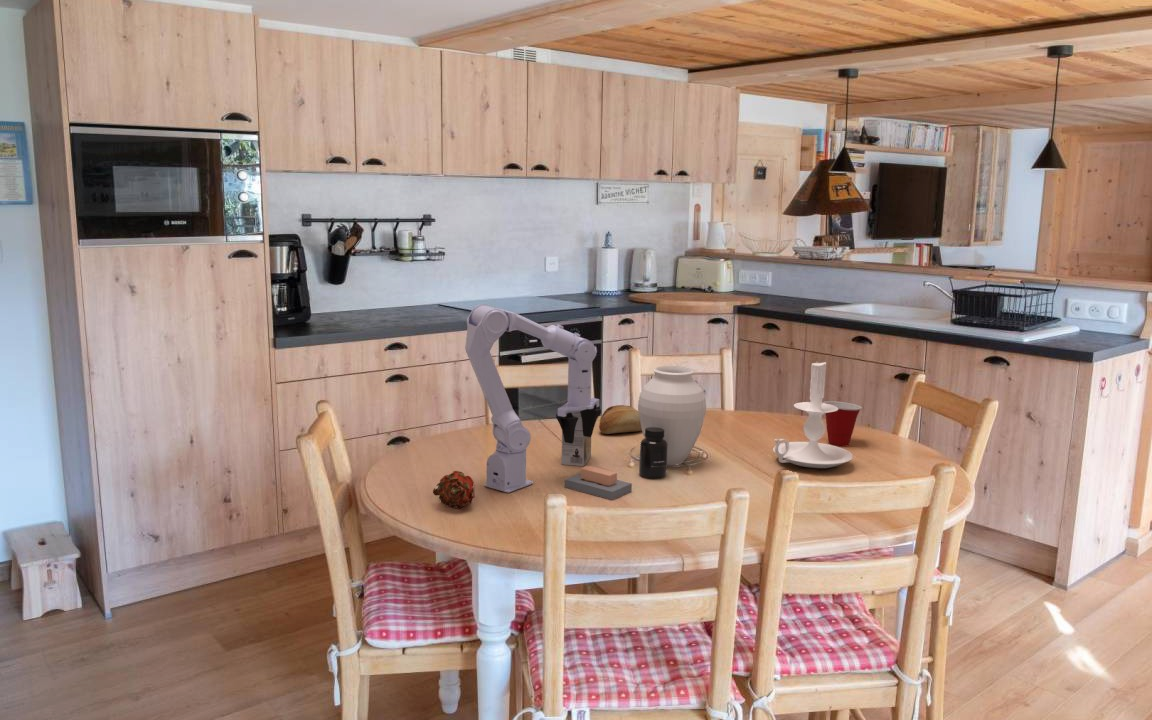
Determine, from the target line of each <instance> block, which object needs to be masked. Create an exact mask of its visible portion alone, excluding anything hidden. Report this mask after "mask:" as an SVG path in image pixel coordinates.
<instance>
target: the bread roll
mask: <svg viewBox="0 0 1152 720" xmlns="http://www.w3.org/2000/svg"><path fill="white" fill-rule="evenodd" d="M598 425H599V426H598V428H599V431H600V433H601V434H605V435H609V434H623V433H634V432H635V433H636V432H640V431H642V428H641V423H640V418H639V412H638V409H636V408H634V407H632V406H631V405H625V404H623V405H622V404H618V405H612V406H609V407H607V408H606V409H605V410H604V412H603V413H602V414H601V416H600V420H599V423H598Z"/></svg>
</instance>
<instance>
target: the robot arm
mask: <svg viewBox="0 0 1152 720" xmlns="http://www.w3.org/2000/svg"><path fill="white" fill-rule="evenodd" d="M466 325H467V326H466V327H467V329H466V337H465V338H466V339H465V346H464V348H465V349H464V350H465V353H466V355H467V358H468V360H469V363H470V365H471V367H472V369H473V372H474V374H475V377H476V380H477V381H478V384H479V387H480V389H481V391H482V394H483V396H484V398H485V401H486V403H487V405H488V407H489V410H490V413H491V419H490V420H491V422H492V423H491V424H492V435H493V438H494V439H495V440H496V445H495V446H496V447H495V448H496V449H495V451H494V452H493V453H491V454H490V455H489V456H488V457H487V460H486V482H485V483H484V484H483V486H484V487H486V488H490V489H494V490H498V491H501V492H504V493H507V494H508V493H512V492H514V491H516V490H519V489H522V488H525V487H528V486H530V485H533V484H534V481H533V480H529V479H527V449H528V446H529V445H530V444H531V443H530V442H531V433H530V431H529V430H528V428H526V426H524V425H523V423H522V421H521V419H520V418H519V416H518V414H517V413H516V412H515V410H514V409H513V406H512V403H511V401H510V398H509V396H508V394H507V391H506V388H505V386H504V382H503V381H502V379H501V376H500V374H499V373H500V372H499V371H498V369H497V366H496V363H495V361H494V359H493V356H492V354H491V350H492V347H493V346H494V344H495V343H496V342H497V341H498V340H499V339H500V337H502V336H503V334H504V333H505V332H510V333H511V332H512V331H515V330H517V331H519V332H522V333H524V334H528V335H529V336H531V337H534V338H537V339H539V340H540V341H541V345H542V347H544V348H546V349H549V350H550V351H553V352H556V353H557V354H560V355H562V356H565V357H567V359H568V365H567V366H568V367H567V368H568V370H567V375H568V376H567V400H568V402H567V403H566V404H565V405H563V404H562V406H560V407H557V413H556V415H555V418H556V420H557V422H558V424H559V426H560V428H561V433H562V432H563V436H564V440H565V442H566V443H570V444H572V443H573V441H574V432H575V427H576V423H577V421H578V419H579V418H578V417H573V415H572V413H575V412H579V411H580V413H581V417H582V427H583V436H586V437H591V438H592V436H593V432H594V429H595V426H596V423H597V421H598V419H599V416H600V414H602V408H599V407H600V399H599V398H595V397H593V398H592V371H593V370H592V367H593V361H594V360H595V358H596V357H597V352H598V350H596V347H595V345H594V343H593V342H592V341H591V340H589V339H587V338H584V337H580V334H579V333H578V332H574V333H573V332H570V331H568V330H566V329H564V326H563V325H561V324H559V323H558V324H551V325H548V326H543V325H541V324H539V323H538V322H535V321H533V320H531V319H529V318H527V317H524V316H523V315H520V314H518V313H516V312H513V311H510V310H506V309H502V308H499V307H495V306H494V307H493V306H490V305H488V304H485V303H480V304H478V305H476V306H475V307H473V308H472V310H471V311H470V313H469V315H468V317H467V318H466Z"/></svg>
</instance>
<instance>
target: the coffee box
mask: <svg viewBox="0 0 1152 720" xmlns="http://www.w3.org/2000/svg"><path fill="white" fill-rule="evenodd" d="M567 402H568V399H567V400H566V401H565V402H564V403H563V404H562V406H563V405H565V404H566V403H567ZM572 415H573V417H578V418H579V419H578V421H577V423H576V427H575V432H574V441H573V443H572V444H570V443H566V442H565V440H564V436H563V432H562V431H561V465H564V466H565V465H566V466H578V467H586V464H587V463H588V461H589V460H590V459H591V457H592V436H591V437H586V436H583V427H582V417H581V413H580V411H579V412H575V413H572Z"/></svg>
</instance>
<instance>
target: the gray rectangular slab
mask: <svg viewBox="0 0 1152 720" xmlns="http://www.w3.org/2000/svg"><path fill="white" fill-rule="evenodd" d="M632 485H633V483H631V482H628V481H623V480H620V479H617V483H615V484H613V485H610V486H608V487H606V486H602V485H601V484H600V483H596V482H587V481H584V479H581V472H580V473H577V474H574V475H572V476H569V477H567V478H564V488H566V489H570V490H574V491H577V492H581V493H586V494H588V493H589V495H591V494H592V496H595V495H596V497H599V496H600V497H599V498H602V497H604V498H603V499H606V498H608V499H607V500H610V499H611V500H610V501H613V499H614V500H615V498H616V499H618V498H620V497H623V496H624V495H627V494H629V493H631V492H632ZM622 495H623V496H622ZM617 497H618V498H617Z"/></svg>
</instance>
